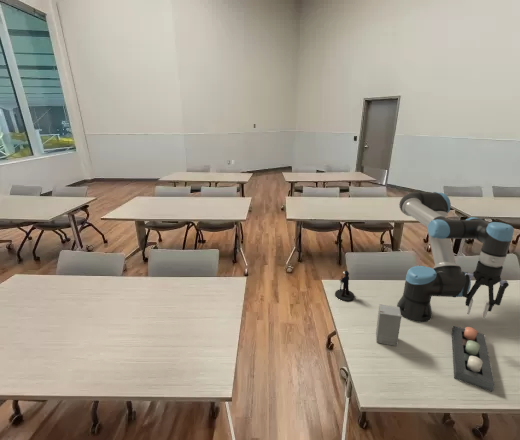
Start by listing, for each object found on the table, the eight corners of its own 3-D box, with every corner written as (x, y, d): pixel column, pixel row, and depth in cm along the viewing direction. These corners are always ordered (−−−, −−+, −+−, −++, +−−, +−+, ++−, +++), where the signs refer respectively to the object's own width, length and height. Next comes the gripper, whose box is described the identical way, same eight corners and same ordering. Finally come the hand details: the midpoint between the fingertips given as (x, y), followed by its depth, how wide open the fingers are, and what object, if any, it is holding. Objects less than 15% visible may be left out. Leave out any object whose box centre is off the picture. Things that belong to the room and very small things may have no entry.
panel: (454, 378, 103) (456, 371, 102) (451, 331, 126) (453, 325, 125) (492, 392, 98) (494, 384, 97) (482, 341, 121) (484, 334, 120)
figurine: (345, 288, 159) (348, 265, 154) (358, 298, 150) (361, 273, 146) (331, 293, 155) (333, 268, 150) (343, 303, 147) (345, 277, 142)
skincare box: (395, 336, 124) (400, 306, 118) (397, 348, 117) (403, 316, 112) (374, 332, 126) (379, 302, 121) (375, 343, 120) (380, 312, 115)
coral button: (463, 338, 118) (465, 331, 116) (463, 332, 121) (465, 325, 120) (475, 342, 116) (477, 334, 114) (474, 335, 119) (476, 328, 118)
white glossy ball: (467, 369, 103) (469, 361, 102) (466, 361, 106) (468, 354, 105) (480, 374, 101) (483, 366, 100) (479, 366, 104) (482, 358, 103)
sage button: (465, 352, 110) (467, 345, 109) (464, 346, 114) (466, 339, 112) (478, 356, 108) (480, 349, 107) (476, 350, 112) (479, 342, 110)
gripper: (463, 261, 108) (450, 312, 116) (523, 273, 100) (505, 327, 107) (461, 254, 114) (449, 303, 122) (518, 264, 106) (501, 316, 113)
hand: (475, 314), depth 115 cm, fingers open, 4 cm apart
